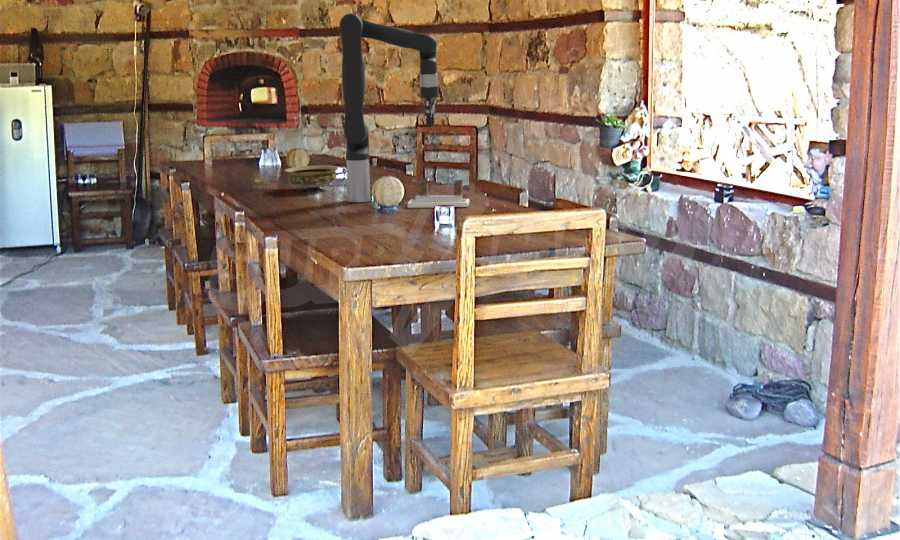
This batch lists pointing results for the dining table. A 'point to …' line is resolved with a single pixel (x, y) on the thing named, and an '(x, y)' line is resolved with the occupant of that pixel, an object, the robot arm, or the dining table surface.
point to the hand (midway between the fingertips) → (430, 125)
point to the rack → (457, 187)
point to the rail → (438, 198)
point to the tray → (413, 204)
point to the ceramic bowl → (312, 176)
